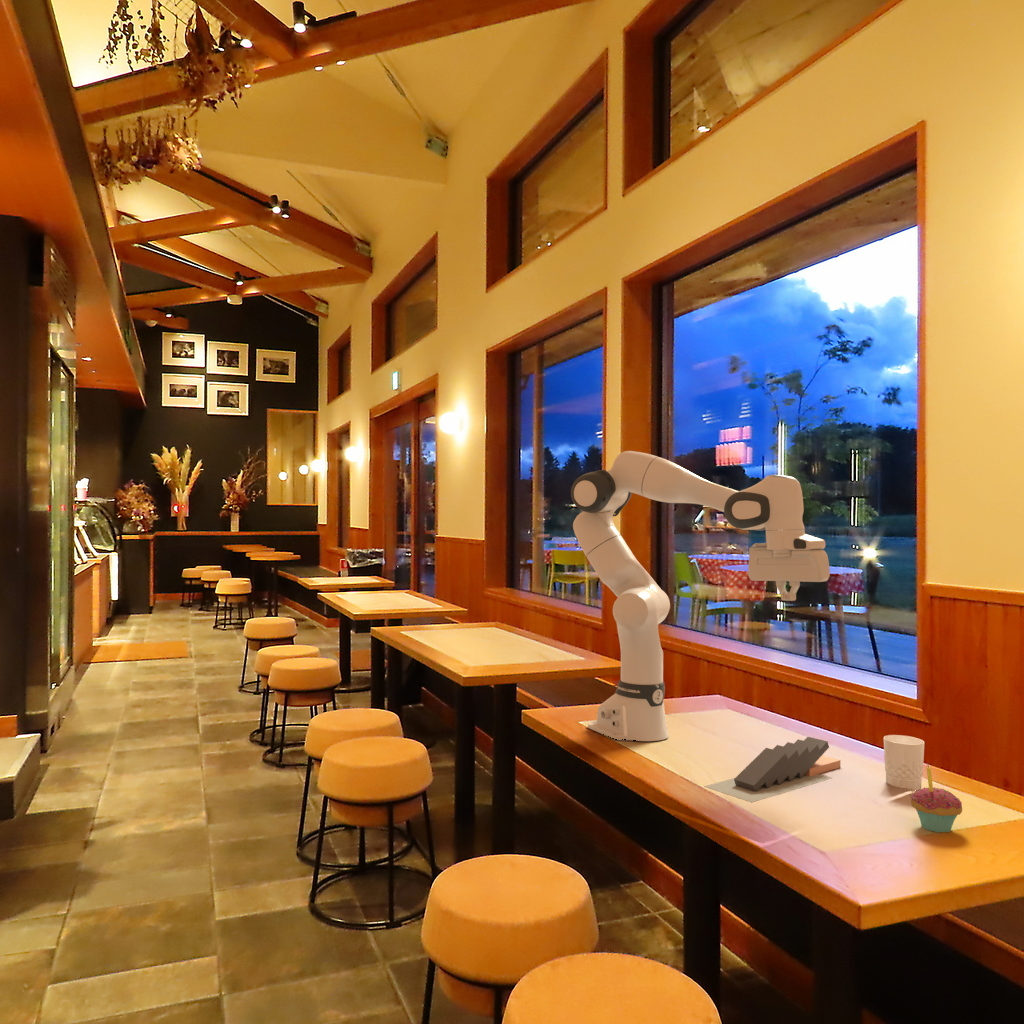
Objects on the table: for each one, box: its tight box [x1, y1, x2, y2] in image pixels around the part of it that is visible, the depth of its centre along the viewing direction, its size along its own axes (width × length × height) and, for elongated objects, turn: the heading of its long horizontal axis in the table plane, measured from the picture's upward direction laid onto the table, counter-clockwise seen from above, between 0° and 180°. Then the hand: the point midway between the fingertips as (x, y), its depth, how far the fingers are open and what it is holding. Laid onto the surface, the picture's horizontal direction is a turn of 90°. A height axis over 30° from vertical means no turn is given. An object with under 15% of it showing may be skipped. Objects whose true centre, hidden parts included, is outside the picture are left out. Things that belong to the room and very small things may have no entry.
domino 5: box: [795, 736, 830, 778], centre depth 182 cm, size 5×2×12 cm
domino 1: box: [734, 747, 788, 792], centre depth 172 cm, size 5×2×12 cm
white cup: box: [883, 734, 925, 792], centre depth 174 cm, size 8×8×10 cm
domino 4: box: [785, 739, 819, 781], centre depth 179 cm, size 5×2×12 cm
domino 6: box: [804, 755, 841, 776], centre depth 184 cm, size 5×2×12 cm
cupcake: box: [910, 762, 963, 833], centre depth 150 cm, size 9×8×12 cm
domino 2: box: [761, 744, 799, 789], centre depth 175 cm, size 5×2×12 cm
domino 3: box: [773, 741, 809, 785], centre depth 177 cm, size 5×2×12 cm
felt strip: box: [704, 773, 832, 803], centre depth 174 cm, size 12×28×1 cm, turn 127°
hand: (788, 600), depth 193 cm, fingers closed
